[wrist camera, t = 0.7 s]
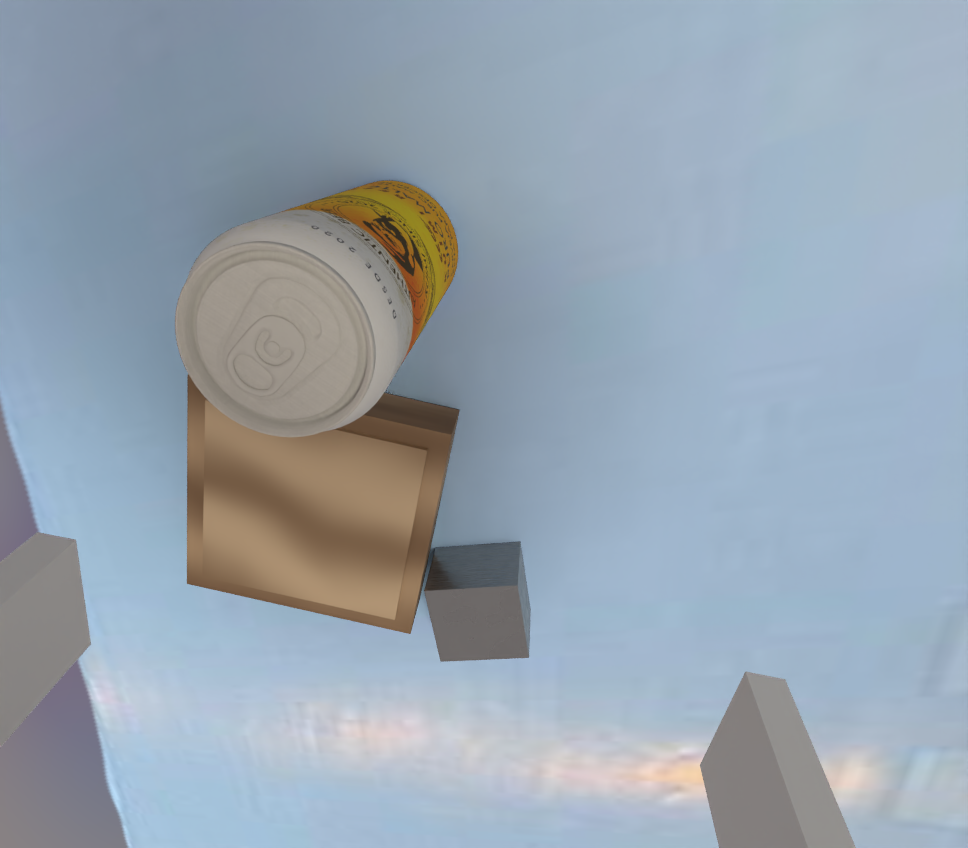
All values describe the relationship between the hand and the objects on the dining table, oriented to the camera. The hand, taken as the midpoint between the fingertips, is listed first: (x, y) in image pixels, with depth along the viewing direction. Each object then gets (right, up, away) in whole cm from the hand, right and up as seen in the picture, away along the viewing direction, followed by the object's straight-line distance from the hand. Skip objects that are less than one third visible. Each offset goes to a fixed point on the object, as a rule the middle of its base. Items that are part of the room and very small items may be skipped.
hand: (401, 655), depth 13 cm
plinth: (-7, +1, +24) cm, 25 cm away
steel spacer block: (+2, -5, +25) cm, 26 cm away
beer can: (-3, +13, +18) cm, 22 cm away
